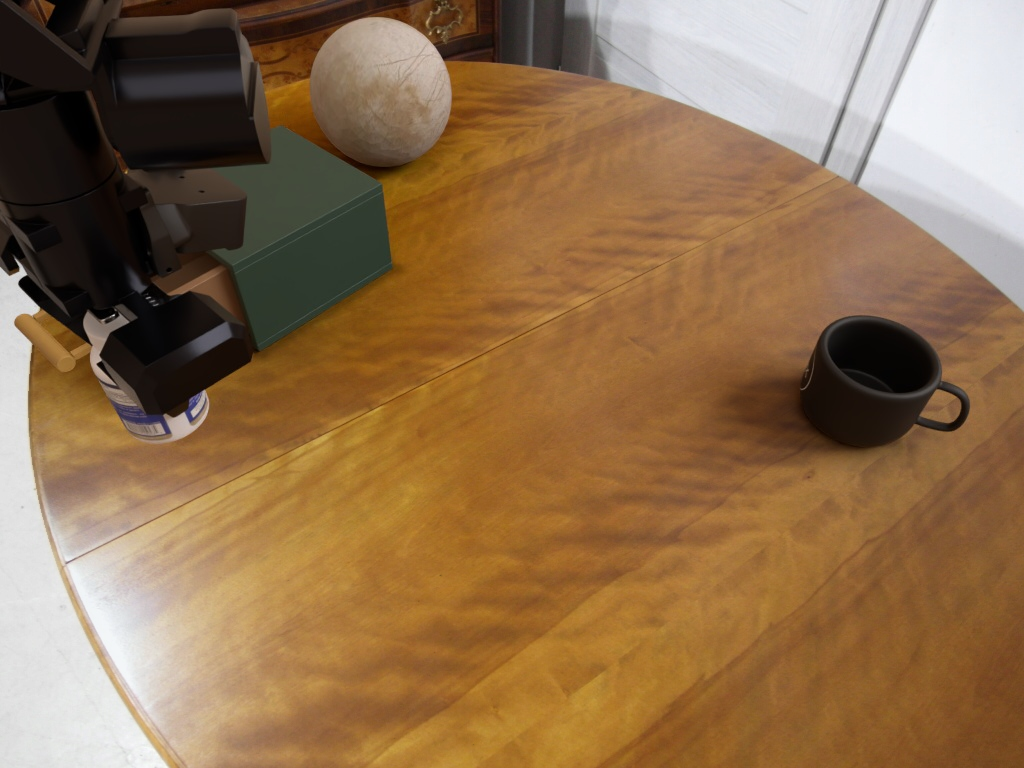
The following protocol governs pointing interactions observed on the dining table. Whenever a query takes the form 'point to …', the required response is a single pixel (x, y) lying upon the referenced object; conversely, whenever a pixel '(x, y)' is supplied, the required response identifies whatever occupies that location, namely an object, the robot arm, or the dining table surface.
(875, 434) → the mug
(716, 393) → the dining table surface
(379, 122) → the decorative sphere
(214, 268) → the drawer
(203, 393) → the pill bottle
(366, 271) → the cabinet
